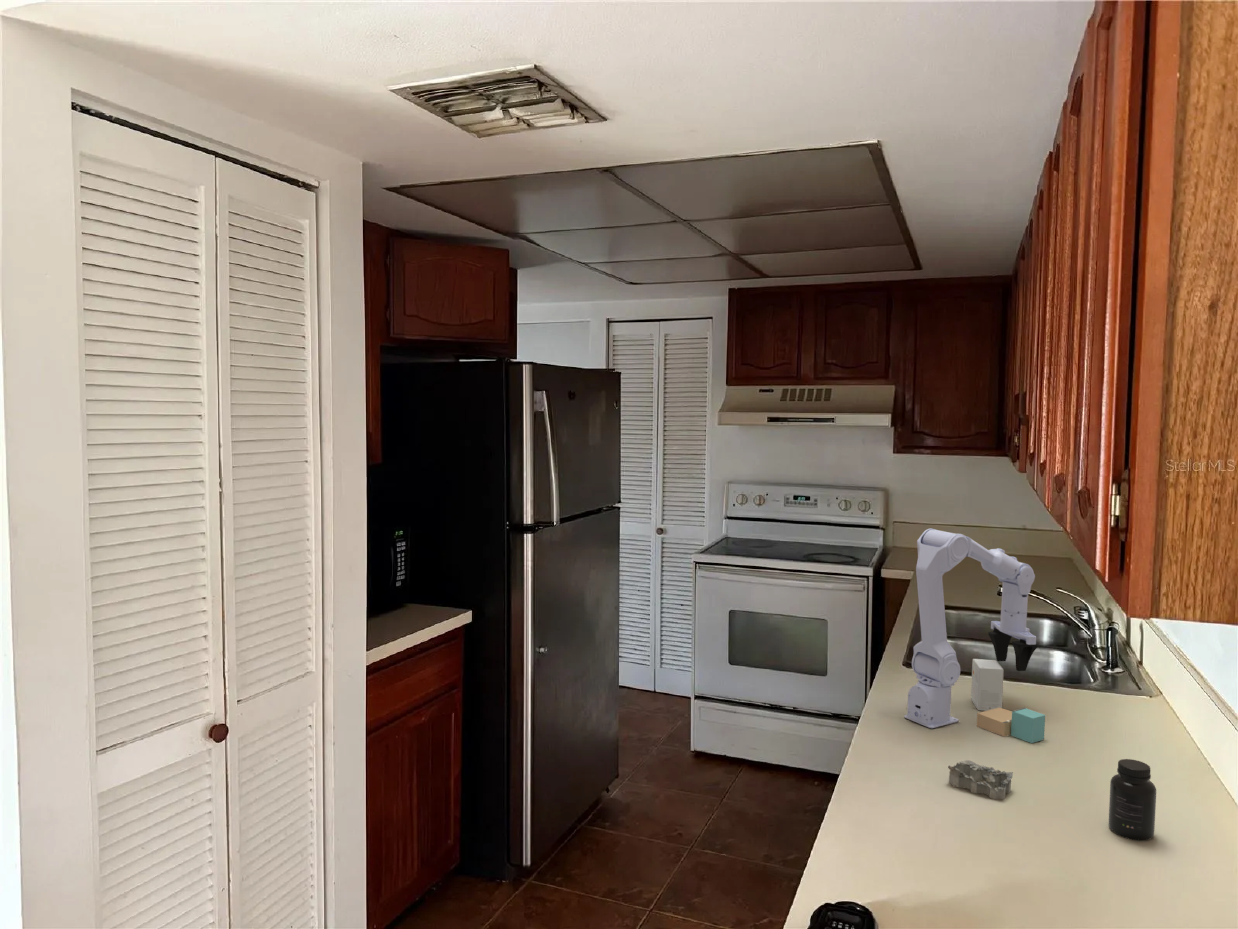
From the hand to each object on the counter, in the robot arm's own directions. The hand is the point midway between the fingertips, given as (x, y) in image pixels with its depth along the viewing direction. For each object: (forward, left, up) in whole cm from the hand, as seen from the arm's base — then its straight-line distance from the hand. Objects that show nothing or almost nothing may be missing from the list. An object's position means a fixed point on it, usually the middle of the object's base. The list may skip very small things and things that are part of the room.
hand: (1010, 665), depth 208 cm
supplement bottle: (-37, -50, -10) cm, 63 cm away
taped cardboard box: (-15, -9, -10) cm, 20 cm away
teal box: (-15, -15, -10) cm, 23 cm away
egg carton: (-45, -26, -10) cm, 53 cm away
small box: (-5, +2, -10) cm, 12 cm away
